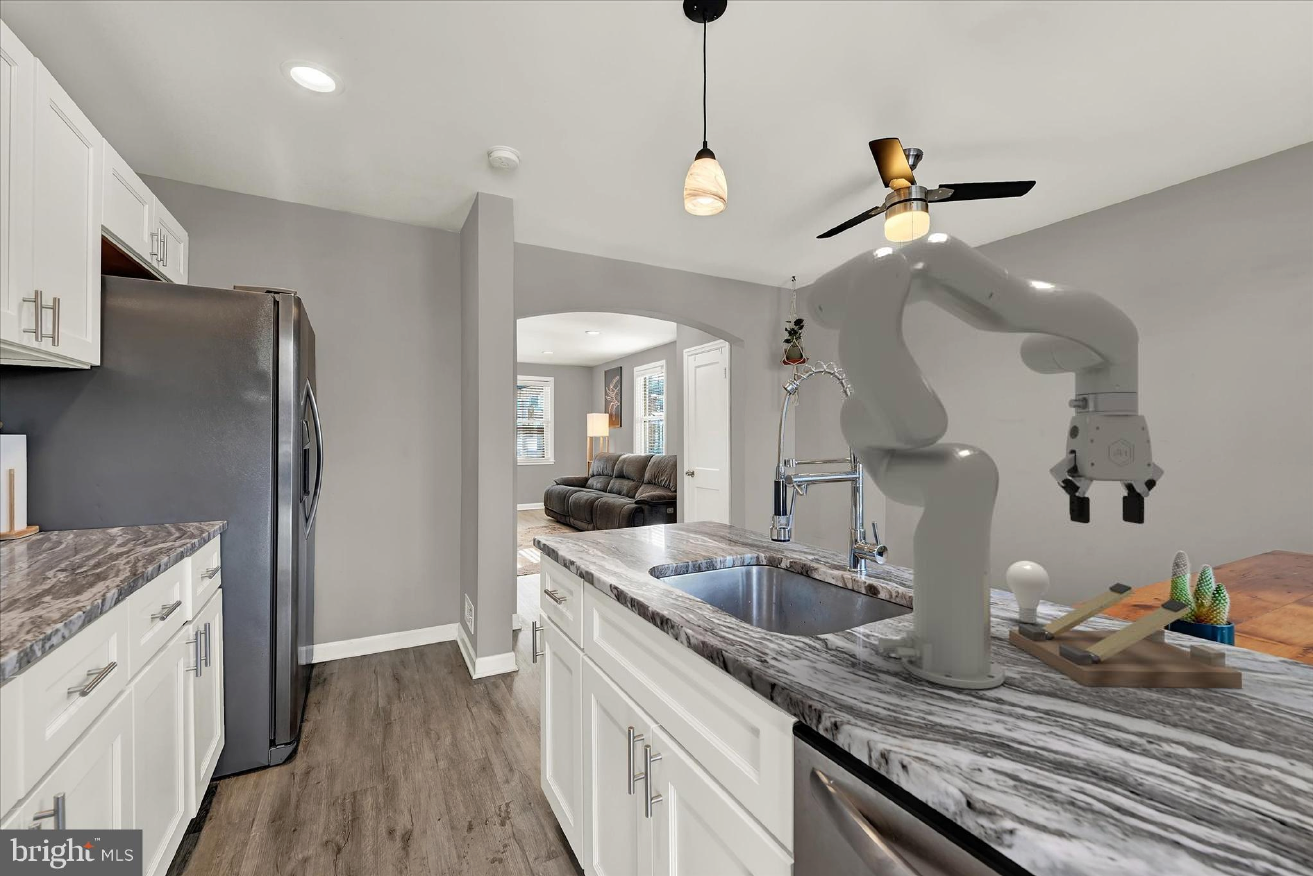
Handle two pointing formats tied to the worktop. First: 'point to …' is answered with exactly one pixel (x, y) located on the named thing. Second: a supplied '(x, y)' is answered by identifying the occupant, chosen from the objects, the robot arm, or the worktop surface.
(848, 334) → the robot arm
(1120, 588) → the back bar
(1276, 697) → the worktop surface
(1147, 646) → the board
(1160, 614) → the front bar
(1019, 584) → the lightbulb
